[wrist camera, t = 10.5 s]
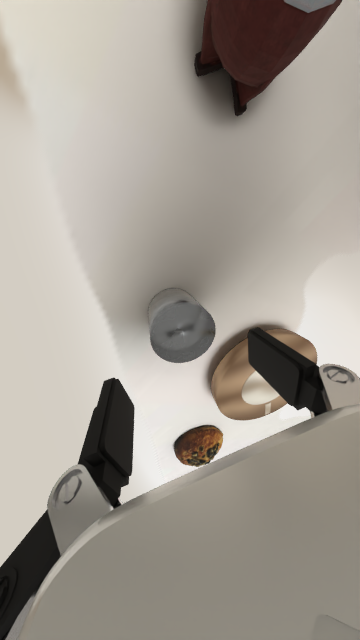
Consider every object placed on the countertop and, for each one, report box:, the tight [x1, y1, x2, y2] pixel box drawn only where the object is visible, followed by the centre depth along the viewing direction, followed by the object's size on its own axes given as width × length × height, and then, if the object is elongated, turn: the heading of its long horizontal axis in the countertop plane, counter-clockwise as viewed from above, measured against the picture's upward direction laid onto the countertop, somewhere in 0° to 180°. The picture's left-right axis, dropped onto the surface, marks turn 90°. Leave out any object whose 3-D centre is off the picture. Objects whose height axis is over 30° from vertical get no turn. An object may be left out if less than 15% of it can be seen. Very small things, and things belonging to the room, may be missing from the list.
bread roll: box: [174, 426, 223, 467], centre depth 32 cm, size 11×11×5 cm
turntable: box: [211, 329, 317, 420], centre depth 22 cm, size 17×17×7 cm
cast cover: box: [148, 288, 215, 363], centre depth 16 cm, size 6×6×6 cm
